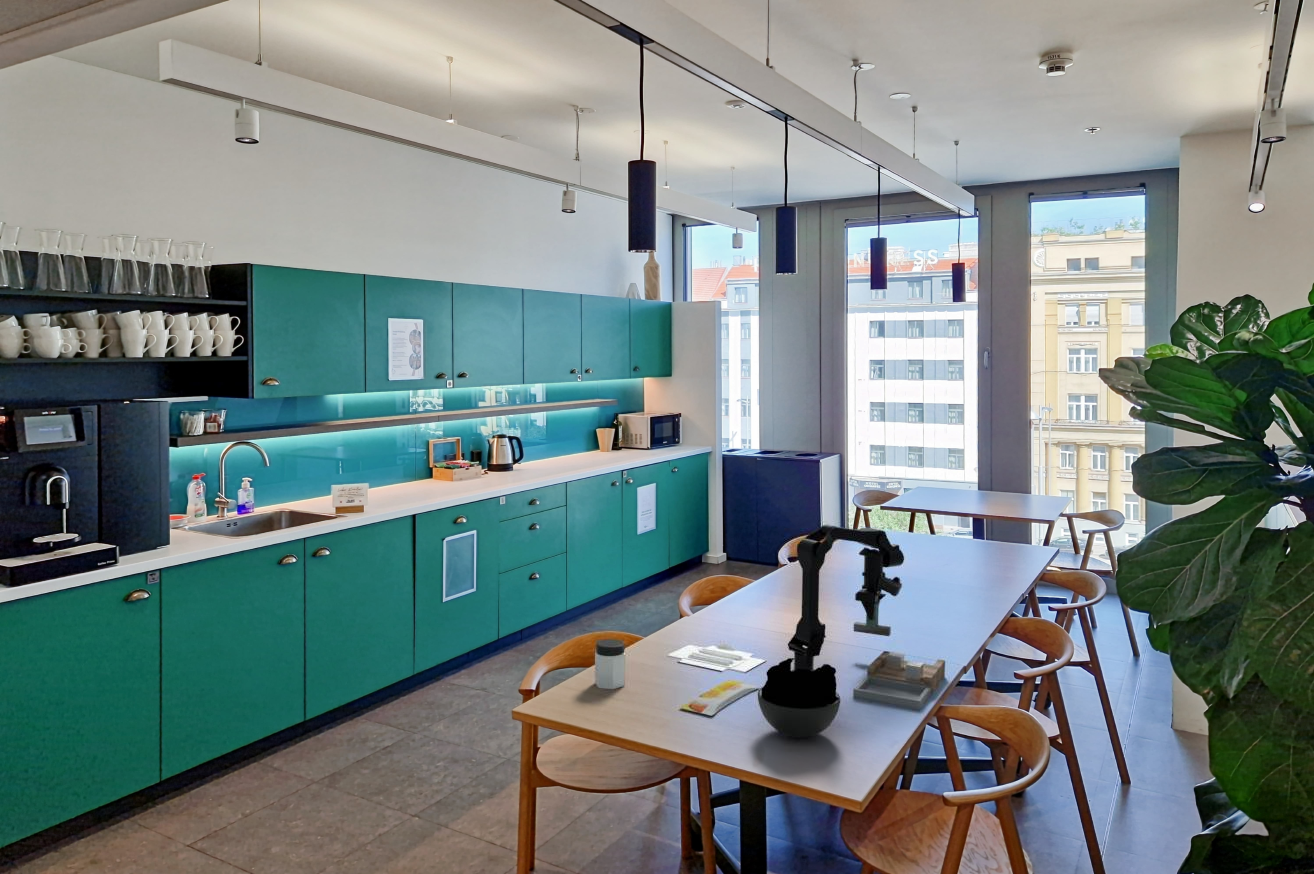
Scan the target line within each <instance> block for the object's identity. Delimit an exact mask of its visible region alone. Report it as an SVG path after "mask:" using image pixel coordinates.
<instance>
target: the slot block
mask: <svg viewBox="0 0 1314 874" xmlns="http://www.w3.org/2000/svg"><path fill="white" fill-rule="evenodd" d="M890 652H891V651H887V650H884V651H883V652H882V653H880V654H879V655H878V657H876V658H875V659H874V660H873V661H872V662H871V663H870V664H869V665H868V666H867V671H866V672H867V675H866V676H871V677H877V678H883V679H888V680H894V681H900V682H906V683H911V684H917V685H923V686H929V687H931V696H932V694H933V693H934V692H935V691H936V690H937V688H939V686H940V684H941V682H943V680H944V679H945V676H946V674H945V672H946V660H944V659H937V660H936V661H935V663H934V664H927V663H923V678H922V679H921V680H920V681H916V680H911V679H905V676H906V664H907V663H908V662H909V661H910V660H909V661H908V660H904V667H903V668H902V670H895V669H889V668H887V655H888V654H889V653H890Z"/></svg>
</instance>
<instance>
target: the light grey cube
mask: <svg viewBox="0 0 1314 874" xmlns="http://www.w3.org/2000/svg"><path fill="white" fill-rule="evenodd" d="M923 664H924V662H917V661H911V660H909V662H908V663H907V664H906V676H905V679H911V680H916V681H920V680H921V679H922V678H923Z"/></svg>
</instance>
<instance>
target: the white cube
mask: <svg viewBox="0 0 1314 874" xmlns="http://www.w3.org/2000/svg"><path fill="white" fill-rule="evenodd" d="M889 652H890V653H889V654H888V655H887V668H889V669H895V670H902V668H903V667H904V661H905V653H903V652H897V651H889Z"/></svg>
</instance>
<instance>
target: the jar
mask: <svg viewBox="0 0 1314 874" xmlns="http://www.w3.org/2000/svg"><path fill="white" fill-rule="evenodd" d="M625 648H626V647H625V642H624V641H623V640H620V639H616V638H615V639H614V638H608V639H600V640H598V641H596V643H595V651H594V683H595V685H596V686H597V688H598V689H603V690H604V689H605V690H616V689H619V688H622V687H625V686H626V653H625Z"/></svg>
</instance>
